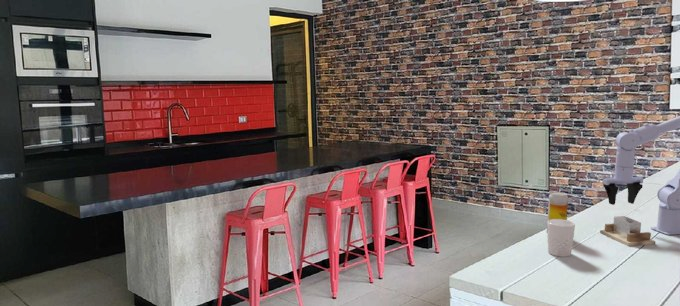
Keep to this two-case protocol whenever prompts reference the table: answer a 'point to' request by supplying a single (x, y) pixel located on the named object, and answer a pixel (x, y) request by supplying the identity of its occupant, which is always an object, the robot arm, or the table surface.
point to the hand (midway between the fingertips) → (621, 203)
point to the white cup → (560, 237)
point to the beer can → (557, 206)
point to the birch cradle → (628, 237)
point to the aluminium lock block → (625, 226)
